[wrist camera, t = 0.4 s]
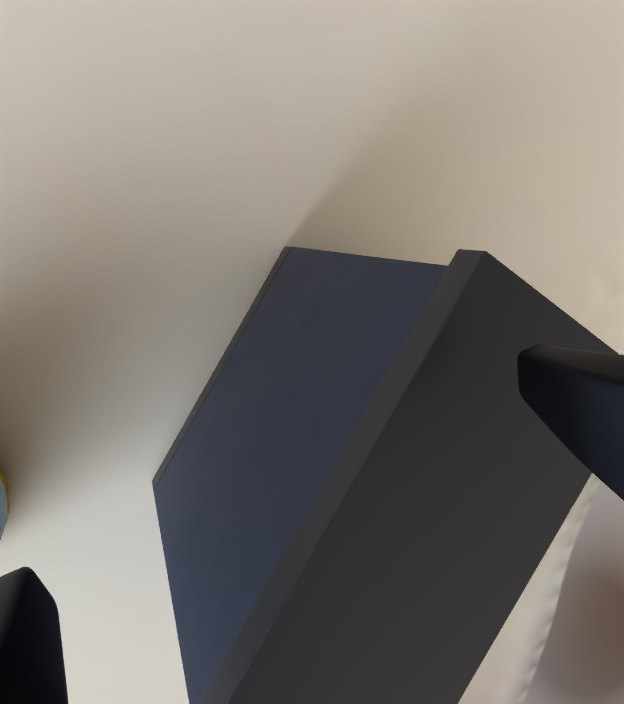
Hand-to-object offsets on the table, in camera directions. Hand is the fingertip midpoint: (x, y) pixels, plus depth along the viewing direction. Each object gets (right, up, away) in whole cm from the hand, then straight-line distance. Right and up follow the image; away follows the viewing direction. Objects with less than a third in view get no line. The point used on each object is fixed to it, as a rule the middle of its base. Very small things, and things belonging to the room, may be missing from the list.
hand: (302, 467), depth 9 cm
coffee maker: (+4, -3, +19) cm, 20 cm away
